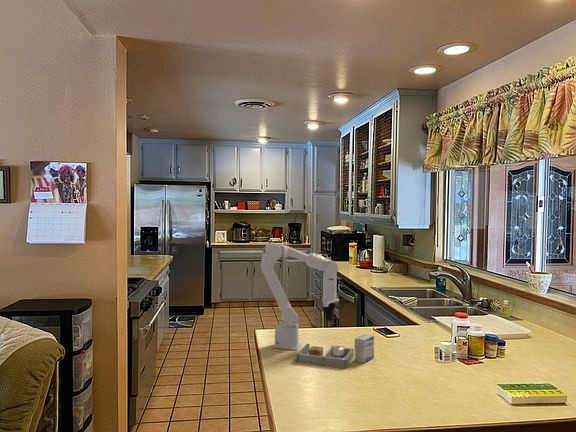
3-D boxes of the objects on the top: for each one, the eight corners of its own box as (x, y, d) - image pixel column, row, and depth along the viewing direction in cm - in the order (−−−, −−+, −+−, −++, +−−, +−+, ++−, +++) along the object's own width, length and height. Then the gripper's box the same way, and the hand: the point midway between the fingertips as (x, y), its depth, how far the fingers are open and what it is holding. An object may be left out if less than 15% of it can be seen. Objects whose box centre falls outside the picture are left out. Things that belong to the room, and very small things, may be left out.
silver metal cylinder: (331, 362, 171) (331, 348, 171) (334, 358, 176) (334, 345, 176) (342, 363, 170) (343, 350, 170) (345, 359, 174) (345, 346, 174)
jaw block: (308, 359, 174) (308, 349, 174) (311, 356, 178) (311, 346, 178) (320, 361, 173) (320, 350, 173) (322, 357, 177) (323, 347, 177)
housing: (296, 362, 171) (296, 354, 171) (307, 351, 184) (307, 343, 184) (346, 368, 165) (346, 360, 165) (353, 356, 178) (353, 348, 178)
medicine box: (364, 363, 170) (364, 340, 170) (354, 360, 173) (354, 338, 173) (374, 358, 176) (374, 335, 176) (363, 355, 179) (364, 333, 179)
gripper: (335, 292, 184) (334, 325, 184) (342, 286, 198) (342, 317, 198) (318, 290, 186) (317, 323, 186) (326, 285, 200) (326, 315, 200)
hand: (329, 320), depth 192 cm, fingers closed
